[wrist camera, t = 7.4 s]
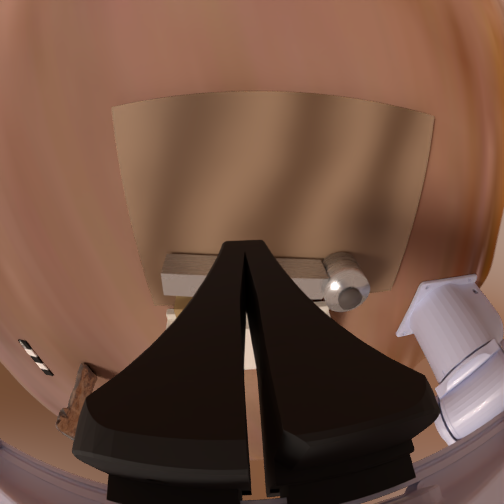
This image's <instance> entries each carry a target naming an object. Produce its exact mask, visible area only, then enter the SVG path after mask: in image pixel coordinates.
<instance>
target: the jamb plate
mask: <svg viewBox="0 0 504 504" xmlns="http://www.w3.org/2000/svg"><path fill="white" fill-rule="evenodd" d="M111 108H112V118H113V127H114V134H115V142H116V149H117V155H118V161H119V167H120V173H121V179H122V184H123V189H124V194H125V199H126V204H127V208H128V213H129V217H130V221H131V226H132V230H133V234H134V238H135V242H136V245H137V249H138V253H139V257H140V260H141V264H142V267H143V271H144V274H145V277H146V281H147V284H148V287H149V290H150V293H151V297H152V300H153V303H154V306H164V305H174V312H175V316H176V318H177V317H178V315H179V314H180V313H181V312H182V311H183V309H184V308H185V307H186V305H187V304H188V303H189V301H190V300H191V299H192V297H187V296H169V295H164V293H163V286H162V279H161V271H162V267H163V264H164V261H165V258H166V255H167V254H187V255H211V256H218V254H219V251H220V249H221V246H222V244H223V243H224V242H225V241H240V240H263V241H264V242H265V243H266V245H267V246H268V248H269V250H270V251H271V253H272V254H273V256H274V257H275V258H288V259H315V260H321V261H322V260H323V259H325V258H326V257H327V256H329V255H331V254H334V253H339V252H344V253H348V254H350V255H352V256H353V257H354V258H355V260H356V262H357V263H358V265H359V267H360V268H361V270H362V272H363V274H364V275H365V277H366V279H367V281H368V282H369V284H370V292H369V293H374V292H383V291H391V288H392V286H393V283H394V280H395V278H396V275H397V272H398V270H399V267H400V264H401V261H402V258H403V255H404V252H405V249H406V246H407V243H408V239H409V236H410V233H411V229H412V226H413V222H414V219H415V215H416V211H417V208H418V204H419V200H420V196H421V191H422V187H423V183H424V178H425V173H426V168H427V163H428V157H429V152H430V145H431V139H432V132H433V124H434V116H433V115H430V114H426V113H422V112H419V111H415V110H411V109H407V108H403V107H398V106H394V105H389V104H384V103H379V102H374V101H368V100H362V99H356V98H349V97H342V96H334V95H325V94H314V93H301V92H282V91H231V92H212V93H199V94H189V95H180V96H171V97H164V98H157V99H151V100H145V101H139V102H134V103H129V104H124V105H119V106H115V107H111ZM323 298H324V297H323ZM361 301H362V295H361V293H360V291H359V290H358V289H357V288H348V289H346V290H344V291H343V292H342V293H341V294H340V295H339V297H338V302H339V305H340V307H341V308H342V309H345V310H349V309H352V308H355V307H356V306H358V305H359V304H360V302H361Z"/></svg>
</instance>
